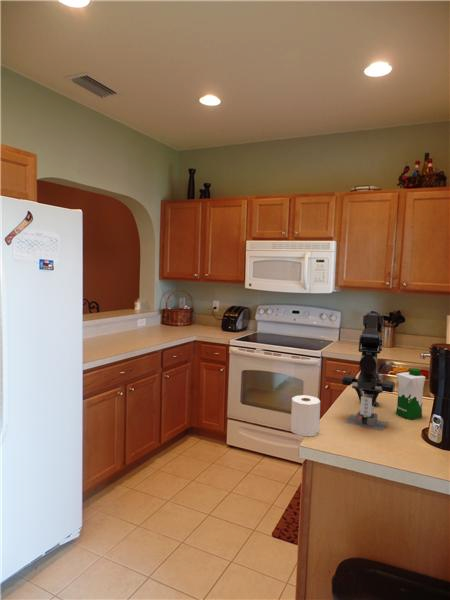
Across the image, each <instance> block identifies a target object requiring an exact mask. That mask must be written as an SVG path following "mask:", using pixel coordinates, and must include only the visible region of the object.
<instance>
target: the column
mask: <svg viewBox="0 0 450 600" xmlns="http://www.w3.org/2000/svg"><path fill="white" fill-rule="evenodd" d="M372 401H373V395H368V394H363V395H362V396H361V403H360V410H359V411H360V415H362V416H364V417H372V415H373V413H374V408H375V407H374V406H372Z"/></svg>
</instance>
